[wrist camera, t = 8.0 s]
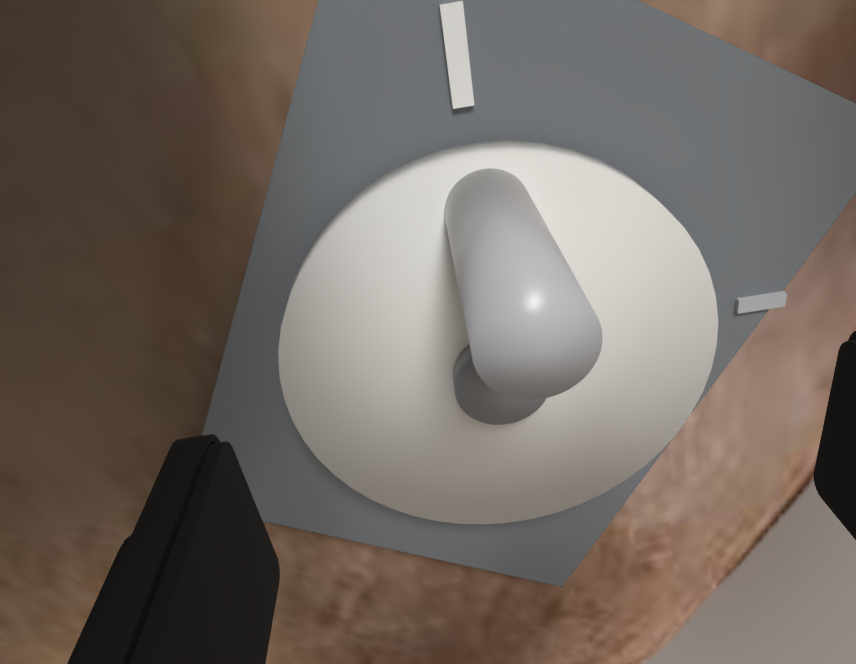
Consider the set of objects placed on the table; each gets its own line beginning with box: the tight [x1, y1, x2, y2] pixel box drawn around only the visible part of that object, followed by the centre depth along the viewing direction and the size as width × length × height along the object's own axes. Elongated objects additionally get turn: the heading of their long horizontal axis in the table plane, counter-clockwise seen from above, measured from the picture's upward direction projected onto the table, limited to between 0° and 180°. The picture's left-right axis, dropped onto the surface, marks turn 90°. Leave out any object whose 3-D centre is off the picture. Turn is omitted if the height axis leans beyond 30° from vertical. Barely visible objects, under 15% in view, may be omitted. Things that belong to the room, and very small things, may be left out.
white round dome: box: [278, 140, 718, 524], centre depth 18 cm, size 14×14×8 cm
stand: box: [202, 0, 856, 587], centre depth 23 cm, size 22×17×2 cm
